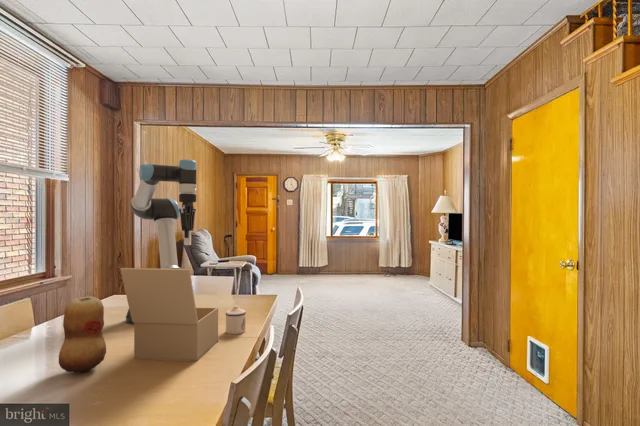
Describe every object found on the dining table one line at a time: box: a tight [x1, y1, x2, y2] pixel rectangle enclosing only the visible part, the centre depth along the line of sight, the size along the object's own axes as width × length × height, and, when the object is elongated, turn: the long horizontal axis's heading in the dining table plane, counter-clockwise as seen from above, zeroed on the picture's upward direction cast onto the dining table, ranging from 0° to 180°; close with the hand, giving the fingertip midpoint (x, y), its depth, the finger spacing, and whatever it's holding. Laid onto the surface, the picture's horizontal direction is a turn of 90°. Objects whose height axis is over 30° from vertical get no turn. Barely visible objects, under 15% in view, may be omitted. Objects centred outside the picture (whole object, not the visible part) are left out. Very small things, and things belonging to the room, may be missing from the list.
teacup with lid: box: [224, 305, 247, 335], centre depth 177 cm, size 12×9×12 cm
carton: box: [133, 307, 219, 362], centre depth 152 cm, size 24×22×14 cm
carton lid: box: [120, 267, 198, 324], centre depth 137 cm, size 25×22×1 cm
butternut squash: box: [58, 296, 107, 374], centre depth 131 cm, size 14×13×25 cm
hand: (187, 244), depth 176 cm, fingers closed
